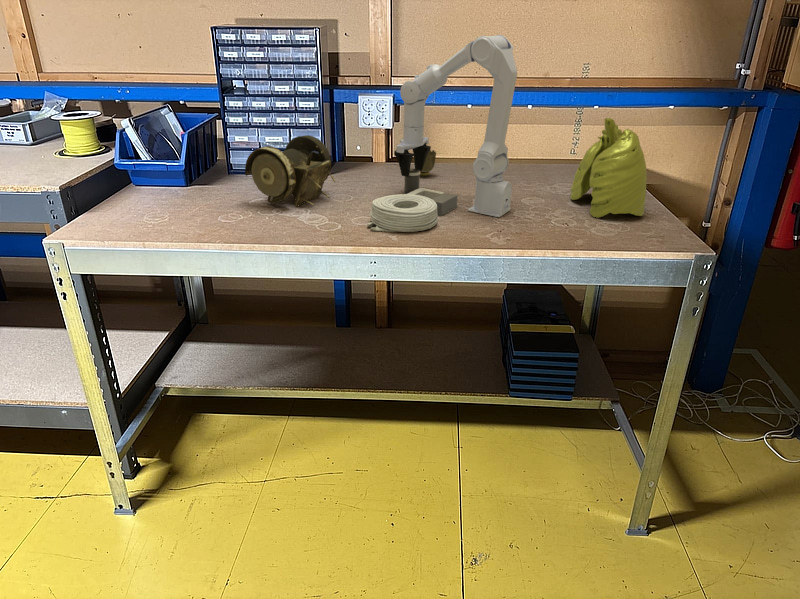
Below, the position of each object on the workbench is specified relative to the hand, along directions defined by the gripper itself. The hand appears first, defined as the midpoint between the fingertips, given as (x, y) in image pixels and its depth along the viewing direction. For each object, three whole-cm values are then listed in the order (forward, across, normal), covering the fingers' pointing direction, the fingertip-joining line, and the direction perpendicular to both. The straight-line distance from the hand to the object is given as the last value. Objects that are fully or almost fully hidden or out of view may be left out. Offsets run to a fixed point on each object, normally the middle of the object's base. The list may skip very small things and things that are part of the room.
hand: (412, 173), depth 171 cm
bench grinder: (+6, +24, -23) cm, 34 cm away
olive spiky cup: (+6, -19, -7) cm, 21 cm away
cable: (+7, +22, +12) cm, 26 cm away
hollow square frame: (+6, +8, +11) cm, 15 cm away
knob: (+6, 0, 0) cm, 6 cm away
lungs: (+6, -22, +51) cm, 56 cm away
